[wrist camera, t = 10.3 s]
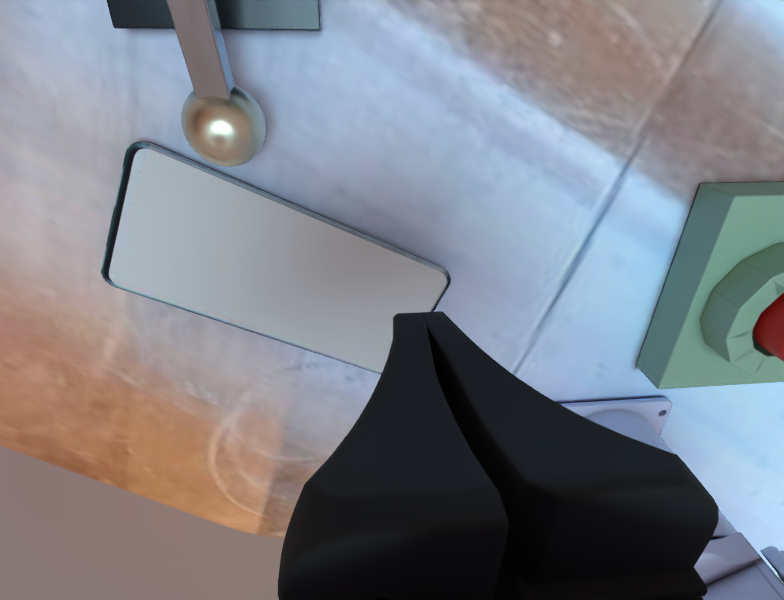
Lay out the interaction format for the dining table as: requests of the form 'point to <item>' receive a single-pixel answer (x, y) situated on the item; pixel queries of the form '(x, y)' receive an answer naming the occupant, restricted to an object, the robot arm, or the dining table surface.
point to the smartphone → (259, 261)
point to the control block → (720, 291)
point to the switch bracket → (223, 15)
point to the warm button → (771, 328)
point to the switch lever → (214, 90)
